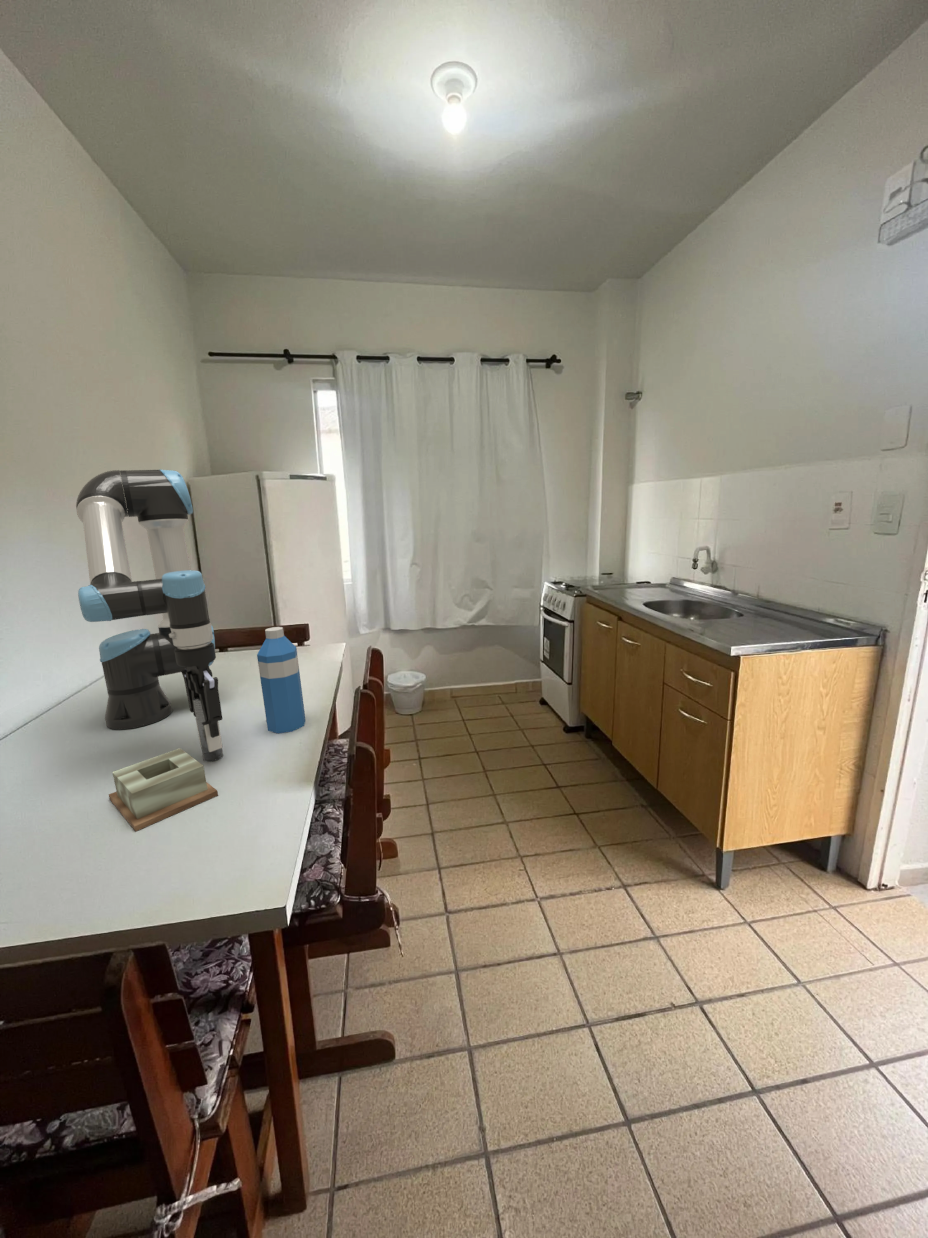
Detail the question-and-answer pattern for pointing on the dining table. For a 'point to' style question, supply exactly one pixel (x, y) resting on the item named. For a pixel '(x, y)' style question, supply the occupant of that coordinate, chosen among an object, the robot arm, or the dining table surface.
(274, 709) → the water bottle
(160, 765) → the socket
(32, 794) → the dining table surface
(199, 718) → the peg
